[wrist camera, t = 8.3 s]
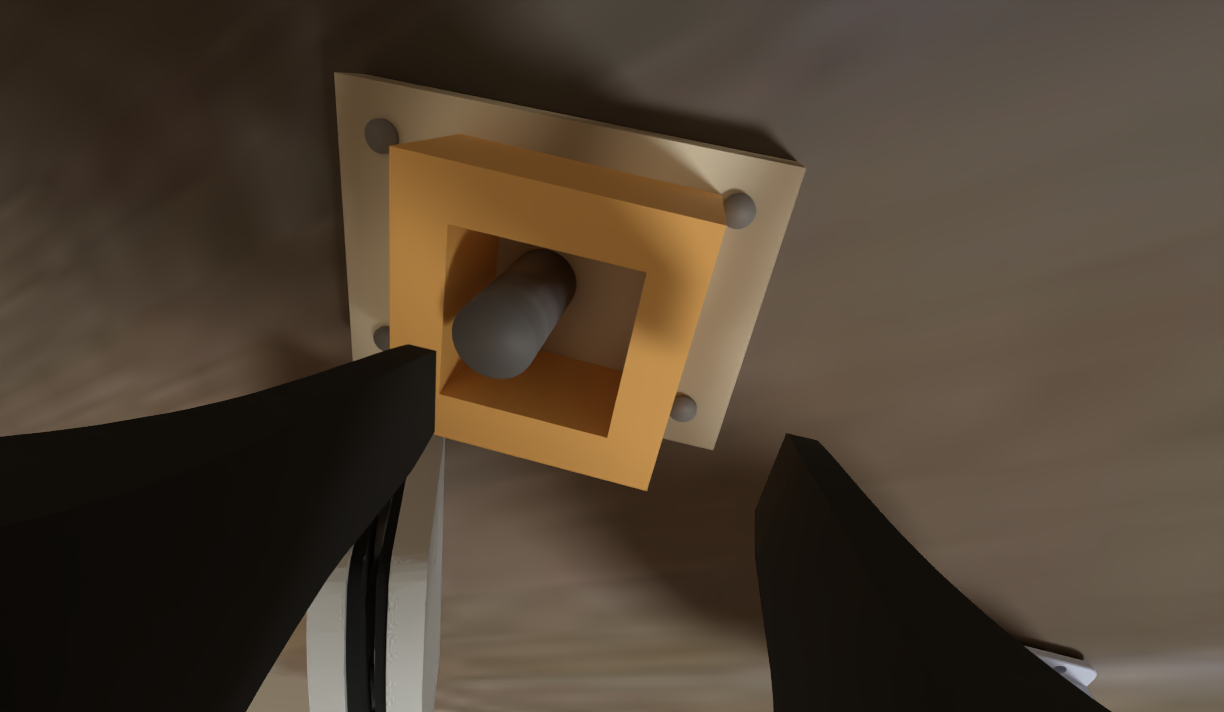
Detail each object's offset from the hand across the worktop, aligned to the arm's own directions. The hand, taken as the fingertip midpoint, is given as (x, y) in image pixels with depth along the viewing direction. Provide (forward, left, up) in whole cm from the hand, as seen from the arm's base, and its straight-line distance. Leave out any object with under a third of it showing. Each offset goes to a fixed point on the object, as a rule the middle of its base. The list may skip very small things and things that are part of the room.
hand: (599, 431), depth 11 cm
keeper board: (+3, 0, -9) cm, 9 cm away
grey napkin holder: (+8, +16, -9) cm, 21 cm away
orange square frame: (+2, 0, -7) cm, 8 cm away
